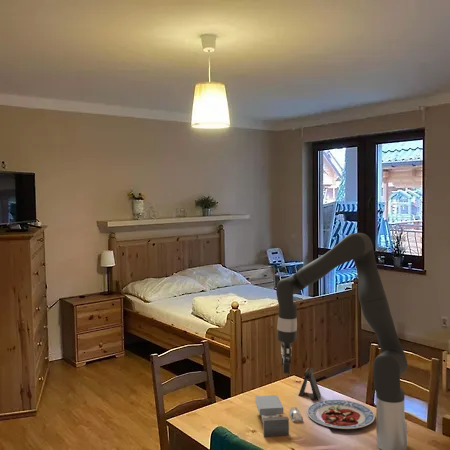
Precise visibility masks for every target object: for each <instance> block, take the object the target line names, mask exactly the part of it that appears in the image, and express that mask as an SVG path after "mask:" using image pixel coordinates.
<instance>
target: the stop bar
mask: <svg viewBox="0 0 450 450" xmlns="http://www.w3.org/2000/svg"><path fill="white" fill-rule="evenodd" d="M289 420H290V419H289V417H288V416H280V417H270V418H263V422H262V435H263V438H273V437H275V438H276V437H290V429H289V428H290V425H289V424H290V422H289Z"/></svg>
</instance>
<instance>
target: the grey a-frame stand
mask: <svg viewBox="0 0 450 450" xmlns="http://www.w3.org/2000/svg"><path fill="white" fill-rule="evenodd" d="M314 371H315V370H314V368H313V367H307V368H306V370H305V372H304V375H303V376H304V379H303V382H302V385H301V387H300V390H299V392H298V397H303V396H304V393H305V391H306V388H307V383H308V381H309V384H310V388H311V391H312V392H310V393H309V392H307V393H306V394H307V396H308V398H309V399H310V400H311V401H319V400H320V398H321V395H322V394H321V391H320V389H319V386H318V383H317V381H316V377H315V375H314Z"/></svg>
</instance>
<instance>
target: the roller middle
mask: <svg viewBox="0 0 450 450" xmlns="http://www.w3.org/2000/svg"><path fill="white" fill-rule="evenodd" d="M260 417H261V422H262V423H263V418H270V417H281V414H276V415H261V416H260Z"/></svg>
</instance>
